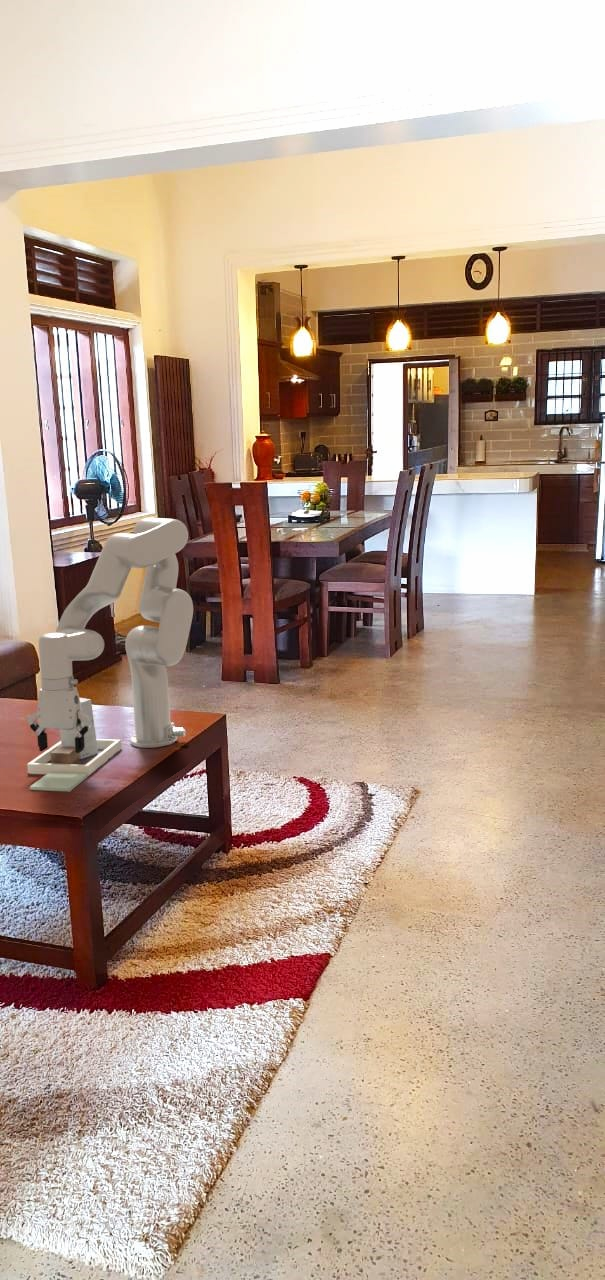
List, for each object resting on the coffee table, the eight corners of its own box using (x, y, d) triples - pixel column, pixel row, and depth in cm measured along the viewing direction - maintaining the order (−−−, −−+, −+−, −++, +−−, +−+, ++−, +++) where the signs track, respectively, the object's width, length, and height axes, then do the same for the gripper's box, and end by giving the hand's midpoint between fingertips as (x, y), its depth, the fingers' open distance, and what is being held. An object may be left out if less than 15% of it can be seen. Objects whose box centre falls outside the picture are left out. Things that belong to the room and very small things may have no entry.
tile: (87, 776, 233) (87, 773, 232) (69, 791, 223) (69, 788, 223) (49, 775, 235) (49, 772, 235) (30, 789, 225) (29, 786, 225)
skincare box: (98, 754, 249) (93, 699, 246) (79, 760, 245) (74, 704, 242) (79, 748, 255) (74, 694, 252) (60, 754, 250) (54, 699, 247)
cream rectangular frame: (121, 748, 253) (120, 739, 253) (88, 775, 233) (87, 766, 233) (65, 746, 257) (64, 738, 256) (28, 773, 236) (27, 764, 236)
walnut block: (79, 766, 241) (78, 747, 240) (71, 772, 236) (69, 753, 235) (61, 765, 242) (59, 746, 241) (52, 772, 237) (50, 752, 236)
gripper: (96, 681, 236) (100, 747, 239) (32, 679, 240) (36, 744, 243) (83, 688, 229) (87, 756, 232) (17, 685, 233) (22, 753, 236)
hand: (61, 750), depth 238 cm, fingers open, 9 cm apart
